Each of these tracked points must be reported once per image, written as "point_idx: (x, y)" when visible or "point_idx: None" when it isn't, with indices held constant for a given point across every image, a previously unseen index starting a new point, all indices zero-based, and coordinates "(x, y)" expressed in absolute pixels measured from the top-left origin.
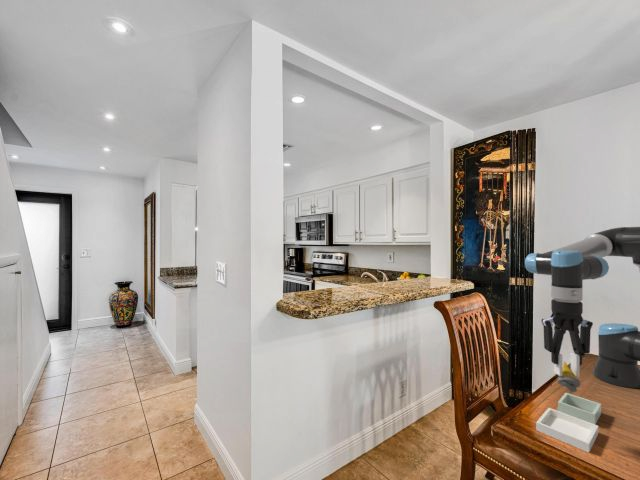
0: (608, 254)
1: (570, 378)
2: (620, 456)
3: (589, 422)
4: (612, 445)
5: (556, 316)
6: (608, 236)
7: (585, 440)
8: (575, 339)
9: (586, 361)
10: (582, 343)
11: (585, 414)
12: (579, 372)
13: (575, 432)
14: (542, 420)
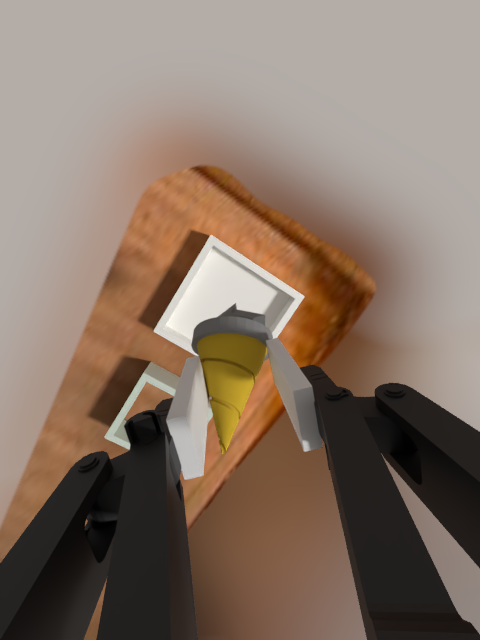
0: None
1: (237, 323)
2: (146, 244)
3: (159, 367)
4: (145, 285)
5: None
6: None
7: (202, 278)
8: (169, 560)
9: None
10: (90, 554)
11: (163, 378)
12: (184, 366)
13: (212, 305)
14: (282, 316)
